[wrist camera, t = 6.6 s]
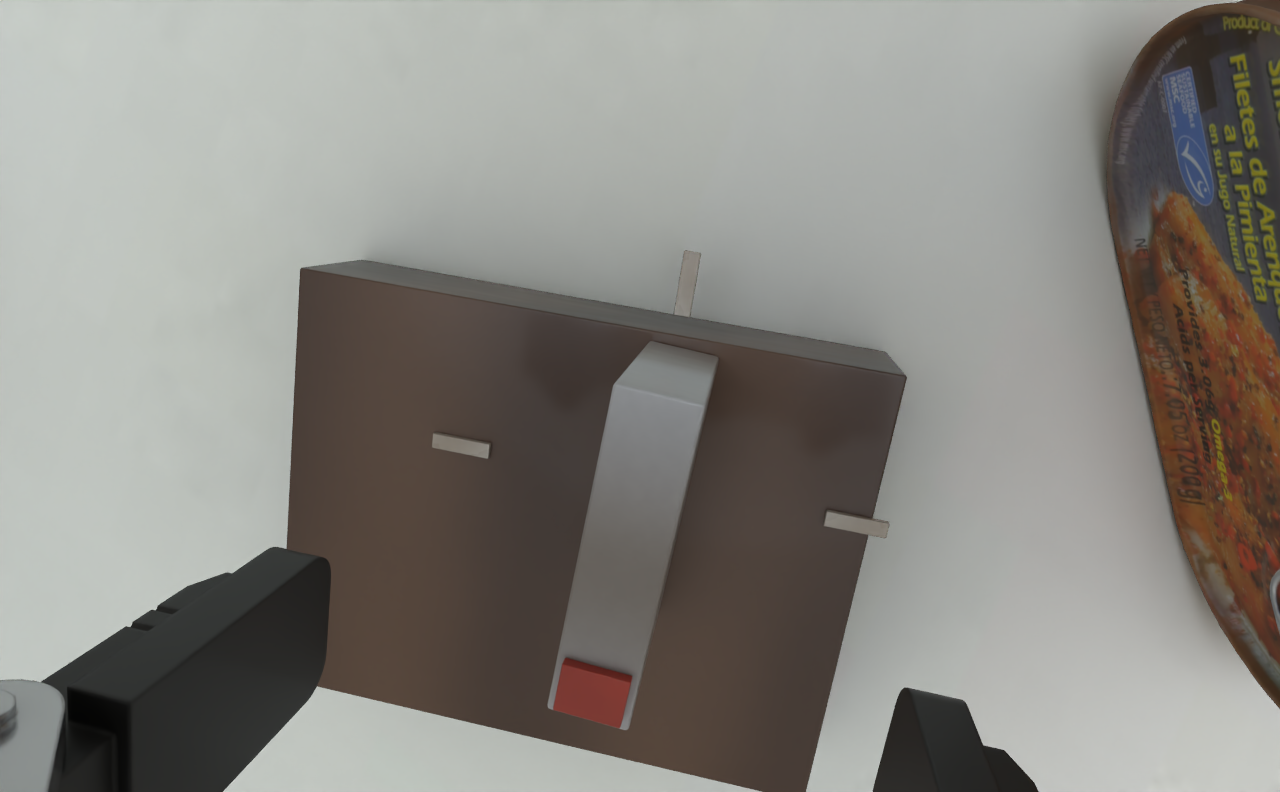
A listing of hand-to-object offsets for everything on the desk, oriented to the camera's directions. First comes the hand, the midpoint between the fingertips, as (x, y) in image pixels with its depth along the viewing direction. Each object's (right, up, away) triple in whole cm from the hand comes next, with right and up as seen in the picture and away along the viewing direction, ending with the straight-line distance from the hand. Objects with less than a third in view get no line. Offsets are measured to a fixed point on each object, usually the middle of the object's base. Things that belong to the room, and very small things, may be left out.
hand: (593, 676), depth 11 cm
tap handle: (+1, +2, +8) cm, 8 cm away
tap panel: (-1, +1, +11) cm, 11 cm away
